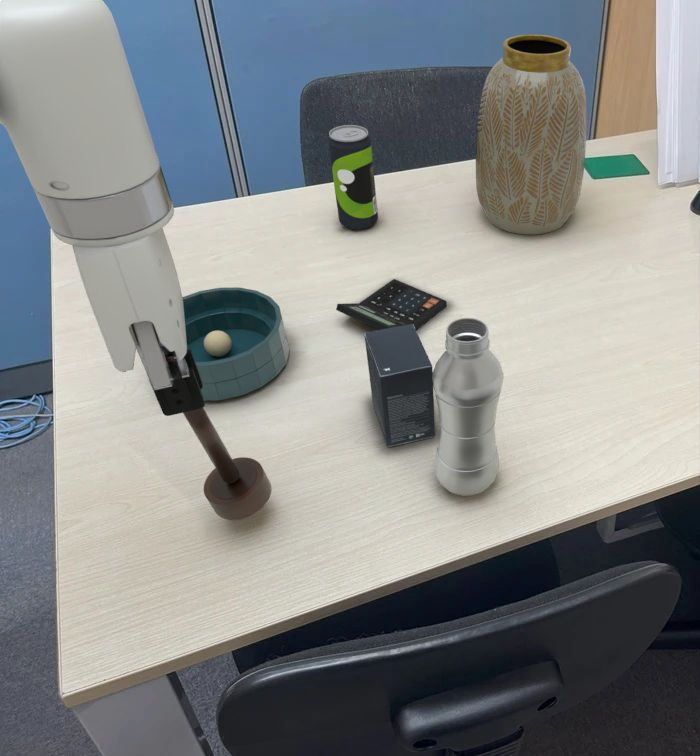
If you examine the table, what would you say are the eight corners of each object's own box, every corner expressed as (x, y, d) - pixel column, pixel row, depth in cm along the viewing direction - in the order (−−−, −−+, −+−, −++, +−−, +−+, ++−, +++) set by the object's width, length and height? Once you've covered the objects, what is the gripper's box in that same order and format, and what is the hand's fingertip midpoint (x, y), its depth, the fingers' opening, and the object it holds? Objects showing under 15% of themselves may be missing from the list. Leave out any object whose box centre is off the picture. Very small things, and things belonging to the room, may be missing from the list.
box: (436, 437, 79) (433, 365, 72) (386, 449, 77) (378, 377, 70) (418, 392, 84) (413, 321, 77) (371, 402, 83) (362, 331, 76)
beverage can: (361, 209, 117) (351, 120, 107) (386, 222, 114) (378, 132, 104) (331, 223, 114) (318, 132, 104) (356, 236, 111) (345, 144, 101)
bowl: (162, 417, 80) (146, 377, 76) (159, 338, 90) (145, 300, 86) (298, 387, 84) (289, 348, 80) (280, 315, 95) (272, 278, 91)
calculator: (446, 306, 98) (446, 288, 96) (392, 349, 90) (390, 330, 88) (394, 283, 101) (392, 266, 99) (338, 323, 94) (335, 305, 92)
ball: (206, 343, 88) (204, 362, 86) (203, 325, 86) (200, 343, 84) (233, 343, 89) (232, 361, 87) (231, 325, 87) (229, 343, 85)
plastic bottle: (429, 464, 76) (420, 314, 63) (489, 451, 77) (493, 303, 64) (443, 510, 71) (437, 359, 58) (506, 496, 73) (515, 346, 60)
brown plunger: (202, 516, 67) (106, 371, 54) (231, 469, 71) (147, 324, 57) (255, 524, 66) (169, 378, 52) (281, 476, 69) (208, 329, 56)
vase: (582, 243, 111) (603, 66, 94) (473, 240, 111) (474, 61, 93) (574, 192, 124) (591, 28, 106) (476, 189, 124) (478, 24, 106)
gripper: (54, 157, 51) (135, 353, 63) (31, 271, 40) (135, 481, 52) (165, 144, 53) (223, 336, 65) (172, 248, 42) (240, 455, 54)
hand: (183, 399), depth 59 cm, fingers closed on brown plunger
